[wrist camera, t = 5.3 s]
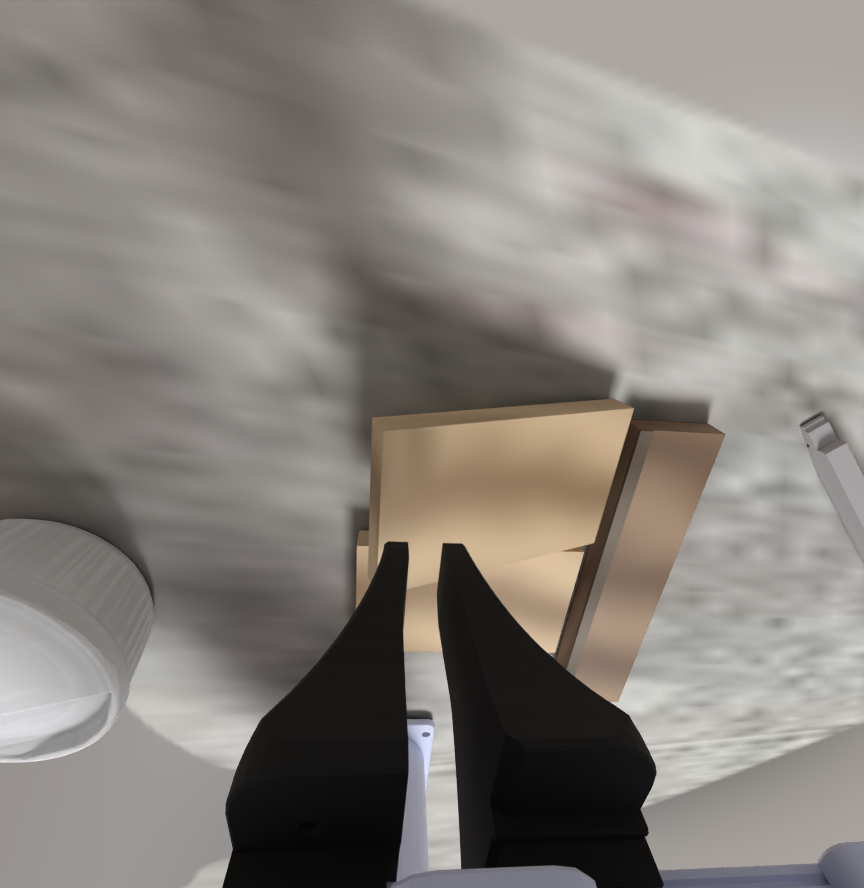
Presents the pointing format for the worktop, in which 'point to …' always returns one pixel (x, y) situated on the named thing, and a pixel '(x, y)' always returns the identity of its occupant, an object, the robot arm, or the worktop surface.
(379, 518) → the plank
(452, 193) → the worktop surface
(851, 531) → the caliper
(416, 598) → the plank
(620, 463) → the floor panel
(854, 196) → the worktop surface
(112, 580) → the ramekin
